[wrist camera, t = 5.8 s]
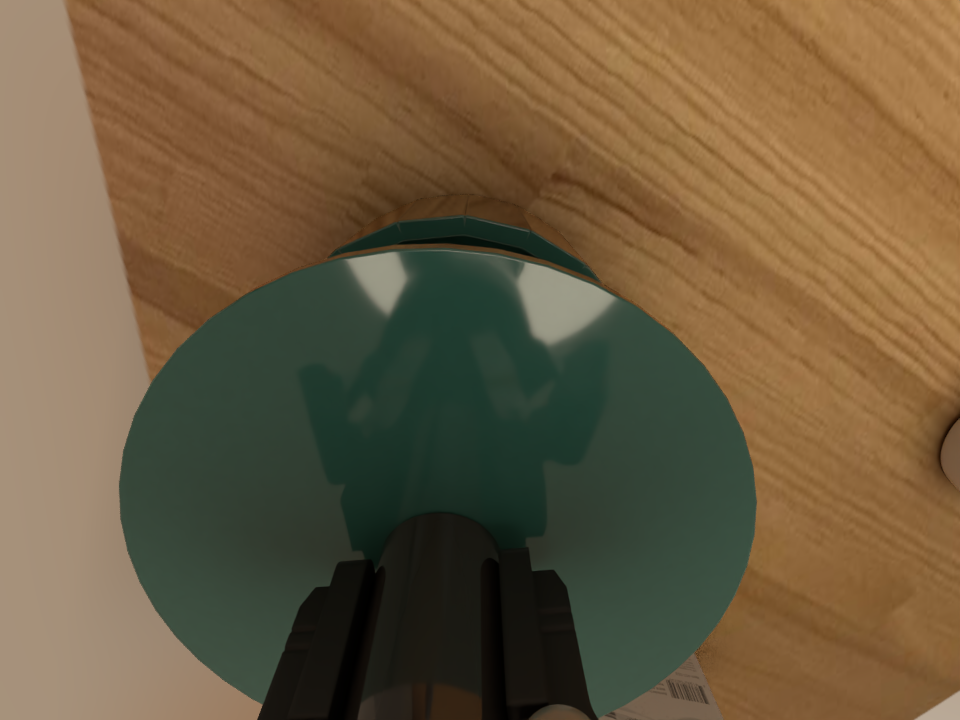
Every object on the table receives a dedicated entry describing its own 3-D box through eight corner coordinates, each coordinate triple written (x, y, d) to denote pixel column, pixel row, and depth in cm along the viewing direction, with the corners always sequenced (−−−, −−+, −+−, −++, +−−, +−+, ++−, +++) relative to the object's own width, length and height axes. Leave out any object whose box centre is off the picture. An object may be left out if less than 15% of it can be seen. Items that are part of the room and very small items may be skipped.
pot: (351, 464, 30) (313, 562, 23) (292, 209, 24) (219, 238, 17) (599, 444, 29) (636, 538, 22) (599, 179, 24) (648, 196, 17)
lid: (241, 728, 17) (112, 1054, 11) (40, 273, 11) (-500, 442, 5) (709, 696, 17) (844, 1018, 11) (773, 202, 10) (1184, 292, 4)
